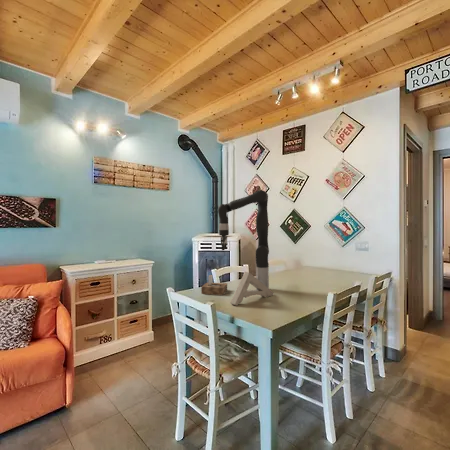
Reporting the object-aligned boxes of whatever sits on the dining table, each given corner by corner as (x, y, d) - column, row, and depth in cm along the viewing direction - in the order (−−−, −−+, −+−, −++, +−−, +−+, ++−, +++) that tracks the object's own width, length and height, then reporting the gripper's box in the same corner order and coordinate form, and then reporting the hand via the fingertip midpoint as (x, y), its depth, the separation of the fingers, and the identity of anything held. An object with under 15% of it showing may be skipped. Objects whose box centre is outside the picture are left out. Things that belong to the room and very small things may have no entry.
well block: (227, 289, 208) (227, 283, 207) (223, 294, 194) (223, 287, 194) (206, 288, 211) (206, 282, 211) (201, 293, 197) (201, 286, 197)
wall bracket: (261, 322, 185) (235, 304, 168) (256, 320, 188) (230, 303, 172) (273, 292, 193) (249, 272, 176) (269, 291, 196) (244, 271, 180)
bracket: (208, 289, 201) (208, 275, 201) (209, 288, 205) (209, 274, 205) (219, 290, 200) (219, 276, 199) (220, 288, 203) (220, 275, 203)
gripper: (226, 229, 210) (227, 250, 210) (230, 228, 224) (230, 248, 224) (217, 229, 212) (217, 250, 212) (221, 229, 225) (221, 248, 226)
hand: (224, 249), depth 218 cm, fingers open, 8 cm apart
